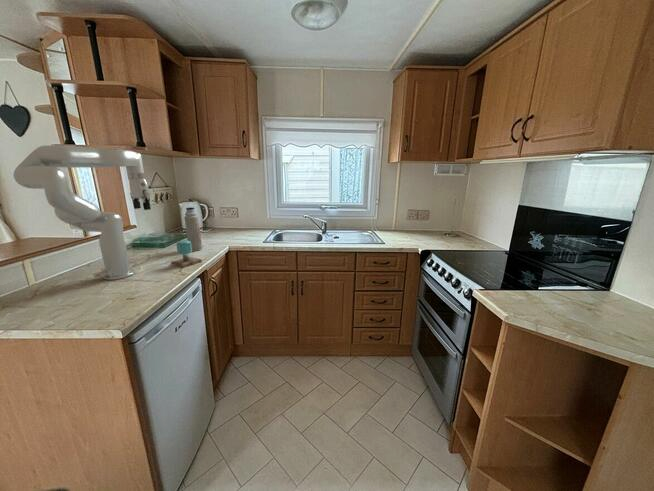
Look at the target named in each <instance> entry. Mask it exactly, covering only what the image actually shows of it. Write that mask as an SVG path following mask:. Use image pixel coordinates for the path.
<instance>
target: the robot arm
mask: <svg viewBox="0 0 654 491" xmlns="http://www.w3.org/2000/svg"><path fill="white" fill-rule="evenodd" d="M109 167H110V168H111V167H112V168H113V167H118V168H119V167H123V168H124V167H125V171H126V175H127V179H128V182H129V191H130V193H129V196H130V198H131V201H132V205H133V208H134V210H138V209H141V208H142V206H143V210H145V211H148V210H149V211H150V210H151V203H150V202H151V201H150V200H151V195H150V194H151V193H150V189H149V185H148V182H147V180H146V174H145V171H144V170H145V169H144V164H143V159H142V154H141V153H140V152H136V151H134V150H131V149H130V150H129V149H116V148H114V149H113V148H103V147H93V146H92V147H91V146H77V145H75V146H74V145H64V144H63V145H59V144H58V145H57V144H56V145H53V144H52V145H40V146H38V147H36V148H35V149H34V150H33V151H31V153H29V154H28V155H27V156H26V157H25V158H24V159H23V160H22V161H21V162H20V163H19V164H18V165H17V166H16V167H15V168H14V171H13V179H14V181H15V182H16V183H17V184H18V185H19V186H21V187H23V188H27V189H35V190H36V189H38V190H39V189H40V190H44V194H45V197H46V201H47V202H48V204H49V205H50V206H51V207H52V208H54V214H55V215H56V217H57V218H58V219H59V220H60V221H62V222H63V223H65V224H68V225H70V226H72V227H75V228H77V229H80V230H83V231H86V232H91V233H92V232H93V233H95V232H96V233H100V235H99V240H98V244H99V248H100V253H101V256H102V261H103V265H104V268H102V270H101V271H100V272H99V271H98V272H94V273H93V274H92V276H93V277H94V278H98V277H100V278H101V277H102V278H103V280H107V281H112V280H120V279H125V278H128V277H130V276H132V275H134V274H135V269H132V268H131V266H130V261H129V257H128V253H127V252H128V251H127V246H126V242H125V237H124V220H123V218H122V216H121V215H120V214H118V213H116V212H111V211H102V210H101V209H100V208H99V207H98V206H97V205H96V204H94V203H93V202H91V201H89V200H86V199H85V198H83V197H82V196H79V195H77V194H76V193H74V192H72V190H71V189H70V185H69V180H68V177H67V174H66V173H65V172H64V171H62V170H61V169H60V168H65V169H66V168H69V169H70V168H74V169H75V168H78V169H79V168H94V169H95V168H109ZM140 199H141V200H142V206H141V202H140Z"/></svg>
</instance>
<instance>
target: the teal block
mask: <svg viewBox="0 0 654 491" xmlns="http://www.w3.org/2000/svg"><path fill="white" fill-rule="evenodd" d="M175 245H176V251H177V254H178V255H182V254H191V253H192V252H193V251H192V246H191V242H190V241H188V240H181V241H177V242H176V244H175Z"/></svg>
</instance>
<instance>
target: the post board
mask: <svg viewBox="0 0 654 491" xmlns="http://www.w3.org/2000/svg"><path fill="white" fill-rule="evenodd" d="M170 263H171V265H172V266H177V267H180V268H183V269H184V268H186V267H190V266H193V265H197V264H199V263H202V259H201V258H197V257H192V256H189V261H183V258H180V259H176V260H173V261H170Z"/></svg>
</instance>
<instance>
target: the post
mask: <svg viewBox="0 0 654 491" xmlns="http://www.w3.org/2000/svg"><path fill="white" fill-rule="evenodd" d="M181 255H182V259H183V261H189V257H190V256H189V255H190V253H188V254H181Z"/></svg>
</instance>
